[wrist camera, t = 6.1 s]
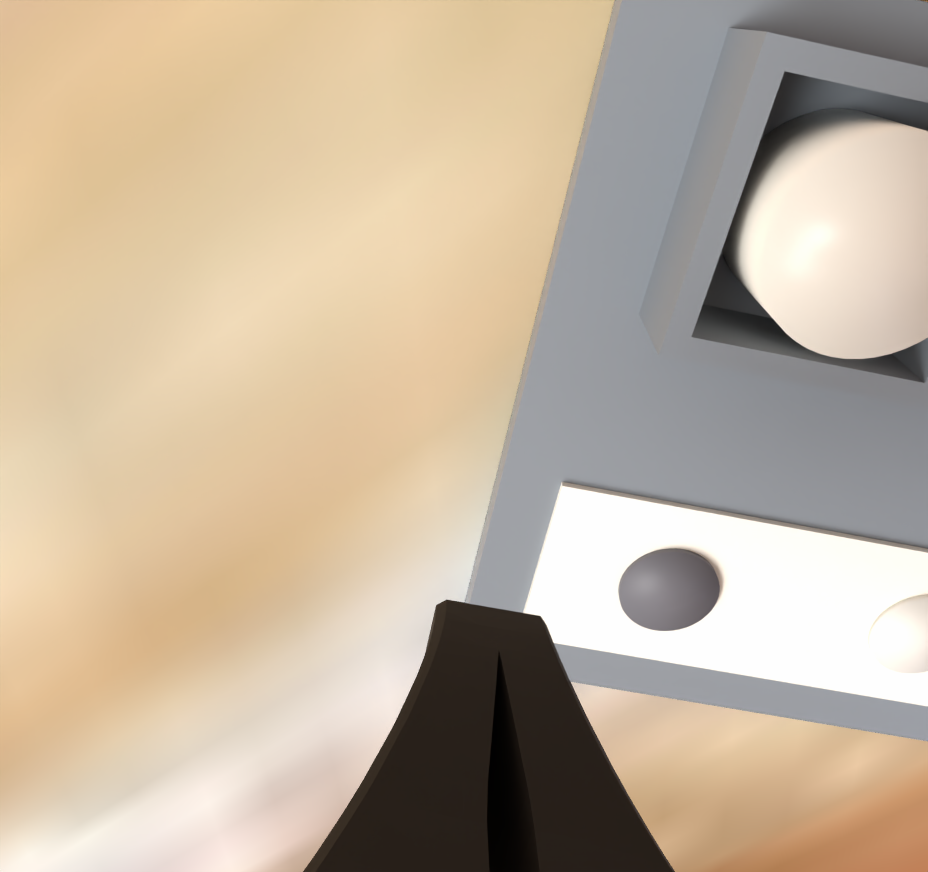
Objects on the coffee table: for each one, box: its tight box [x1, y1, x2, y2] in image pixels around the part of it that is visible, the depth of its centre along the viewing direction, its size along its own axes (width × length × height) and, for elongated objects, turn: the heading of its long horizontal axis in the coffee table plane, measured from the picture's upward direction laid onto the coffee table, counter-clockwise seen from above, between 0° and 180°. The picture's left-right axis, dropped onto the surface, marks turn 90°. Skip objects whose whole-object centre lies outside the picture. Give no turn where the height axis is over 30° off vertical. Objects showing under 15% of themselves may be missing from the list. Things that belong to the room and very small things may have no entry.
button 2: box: [722, 109, 928, 359], centre depth 15 cm, size 4×4×3 cm
